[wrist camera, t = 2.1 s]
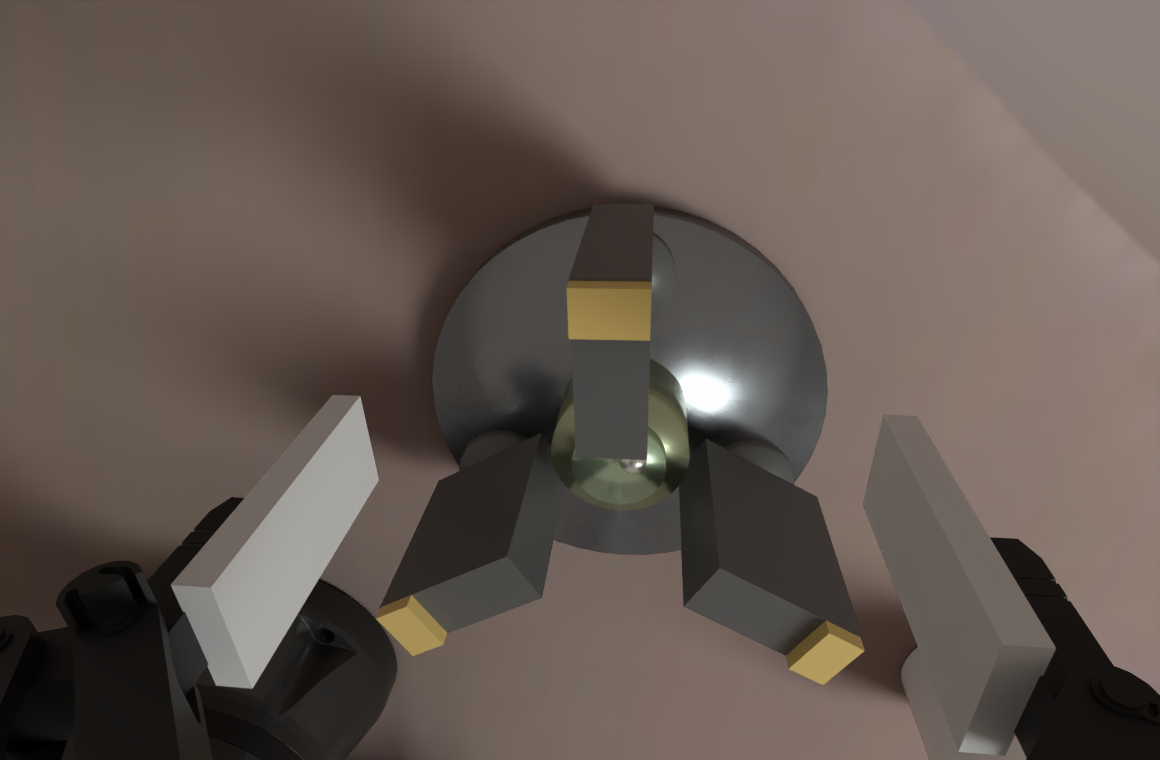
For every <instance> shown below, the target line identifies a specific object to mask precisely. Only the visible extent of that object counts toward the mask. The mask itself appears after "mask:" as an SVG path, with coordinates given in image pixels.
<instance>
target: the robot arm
mask: <svg viewBox="0 0 1160 760" xmlns="http://www.w3.org/2000/svg"><path fill="white" fill-rule="evenodd" d="M378 480H379V479H378V474H377V470H376V465H375V461H374V456H373V451H372V447H371V442H370V438H369V433H368V429H367V424H366V419H365V415H364V410H363V406H362V401H361V397H360V396H347V395H332V396H331V397H330V399H329V400H328V401H327V402H326V403H325V404H324V406H323V407H322V408H321V409H320V410H319V411H318V413H317V414H316V415H315V416H314V417H313V418H312V420H311V421H310V422H309V423H308V424H307V426H306V427H305V428H304V429H303V430H302V431H301V433H300V434H299V435H298V436H297V437H296V438H295V440H294V441H293V442H292V443H291V444H290V445H289V447H288V448H287V449H286V450H285V451H284V453H283V454H282V455H281V456H280V457H279V458H278V460H277V461H276V462H275V463H274V464H273V465H272V467H271V468H270V469H269V470H268V471H267V472H266V474H265V475H264V476H263V477H262V478H261V479H260V481H259V482H258V483H257V484H256V485H255V487H254V488H253V489H252V490H251V491H250V492H249V494H248V495H247V496H246V497H245V498H236V497H231V498H230V499H228V500H227V501H225V502H224V503H222V504H220V505H219V506H217V507H216V508H214V509H213V510H211V511H210V512H209V513H208V514H207V515H206V516H205V517H204V518H203V520H202V521H201V522H200V523H199V524H198V525H197V526H196V527H195V530H194V532H191V533H190V534H189V535H188V536H187V537H186V539H185V540H184V541H183V542H182V546H178V547H177V549H176V550H175V551H174V552H173V553H172V554H171V555H170V556H169V557H168V559H167V560H166V561H165V562H164V563H163V564H162V565H161V566H160V567H159V569H158V570H157V571H156V572H155V573H154V574H153V575H152V576H151V577H150V579H149V580H148V581H147V580H146V578H145V576H144V574H143V572H142V570H141V568H140V567H139V565H138V564H136V563H133V562H130V561H114V562H110V563H106V564H102V565H99V566H96V567H94V568H92V569H90V570H88V571H86V572H84V573H82V574H80V575H79V576H78V577H76V578H75V579H73V580H72V581H71V582H69V583H68V584H67V585H66V587H65V588H64V589H63V590H62V591H61V592H60V593H59V596H58V599H57V601H56V606H57V607H58V609H59V611H60V613H61V614H62V616H63V618H64V619H65V621H66V623H67V625H68V626H69V627H65V628H60V629H55V630H49V631H44V632H39V633H38V632H37V630H36V629H35V627H34V625H33V624H32V623H31V621H30V620H29V619H28V618H27V617H23V616H19V615H13V616H5V617H0V760H345V759H346V758H347V757H348V755H349V754H350V753H351V752H352V751H353V749H354V748H355V747H356V746H357V744H358V743H359V742H360V741H361V739H362V738H363V737H364V736H365V734H366V733H367V732H368V730H369V729H370V728H371V727H372V726H373V725H374V723H375V722H376V721H377V720H378V718H379V716H380V715H381V713H382V711H383V709H384V707H385V705H386V702H387V700H388V697H389V695H390V692H391V690H392V687H393V684H394V682H395V678H396V673H397V661H396V656H395V652H394V649H393V647H392V644H391V642H390V640H389V638H388V636H387V635H386V633H385V632H384V630H383V629H382V627H381V626H380V625H379V624H378V622H377V621H376V620H375V619H374V618H373V617H372V616H371V615H370V614H369V613H368V612H367V611H366V610H365V609H364V608H362V607H361V606H360V605H359V604H358V603H356V602H355V601H354V600H352V599H351V598H349V597H348V596H346V595H345V594H343V593H341V592H340V591H338V590H336V589H334V588H333V587H331V586H329V585H327V584H324V583H322V582H320V581H318V580H319V578H320V576H321V575H322V573H323V571H324V570H325V568H326V566H327V565H328V563H329V561H330V560H331V558H332V556H333V555H334V553H335V552H336V550H337V548H338V547H339V545H340V543H341V542H342V540H343V538H344V537H345V535H346V533H347V532H348V530H349V528H350V527H351V525H352V523H353V522H354V520H355V518H356V517H357V515H358V513H359V512H360V510H361V509H362V507H363V505H364V504H365V502H366V500H367V499H368V497H369V495H370V494H371V492H372V490H373V489H374V487H375V485H376V484H377V482H378ZM863 506H864V509H865V511H866V514H867V517H868V519H869V522H870V524H871V527H872V529H873V532H874V535H875V537H876V540H877V542H878V545H879V548H880V550H881V553H882V555H883V558H884V560H885V563H886V566H887V568H888V571H889V573H890V576H891V579H892V581H893V584H894V586H895V589H896V592H897V594H898V597H899V599H900V602H901V604H902V607H903V610H904V612H905V615H906V617H907V620H908V623H909V625H910V628H911V630H912V633H913V635H914V638H915V641H916V643H917V646H918V648H919V651H920V654H921V656H922V659H923V661H924V664H925V667H926V669H927V672H928V674H929V677H930V679H931V682H932V685H933V687H934V690H935V692H936V695H937V698H938V700H939V703H940V705H941V708H942V710H943V713H944V716H945V718H946V721H947V723H948V726H949V729H950V731H951V734H952V736H953V739H954V742H955V744H956V747H957V749H958V752H967V753H978V754H989V755H1000V756H1005V755H1006V753H1007V751H1008V749H1009V747H1010V745H1011V743H1012V741H1013V738H1014V736H1015V735H1016V737H1017V739H1018V741H1019V743H1020V745H1021V747H1022V749H1023V752H1024V754H1025V756H1026V758H1027V759H1026V760H1160V695H1159V694H1158V693H1157V692H1156V691H1155V690H1154V689H1153V688H1152V687H1151V686H1150V685H1149V684H1147V683H1146V682H1144V681H1143V680H1141V679H1139V678H1138V677H1136V676H1135V675H1133V674H1132V673H1130V672H1128V671H1125V670H1123V669H1120V668H1118V667H1115V666H1113V664H1112V663H1111V661H1110V660H1109V658H1108V657H1107V655H1106V654H1105V652H1104V651H1103V649H1102V648H1101V646H1100V645H1099V643H1098V642H1097V640H1096V639H1095V637H1094V636H1093V634H1092V633H1091V631H1090V630H1089V628H1088V627H1087V625H1086V624H1085V622H1084V621H1083V619H1082V618H1081V617H1080V615H1079V614H1078V612H1077V611H1076V609H1075V608H1074V606H1073V605H1072V603H1071V602H1070V601H1068V600H1067V596H1066V594H1065V593H1064V591H1063V590H1062V588H1061V587H1060V585H1059V584H1056V579H1055V578H1054V576H1053V575H1052V573H1051V572H1050V570H1049V569H1048V567H1047V566H1046V564H1045V563H1044V561H1043V560H1042V558H1041V557H1039V556H1038V555H1037V554H1036V553H1034V552H1033V551H1032V550H1031V549H1030V548H1028V547H1027V546H1026V545H1025V544H1023V543H1022V542H1021V541H1020V540H1019V539H1010V538H992V537H989V535H988V534H987V532H986V530H985V529H984V527H983V525H982V524H981V522H980V520H979V519H978V517H977V515H976V514H975V512H974V510H973V509H972V507H971V505H970V504H969V502H968V500H967V499H966V497H965V495H964V494H963V492H962V490H961V489H960V487H959V485H958V484H957V482H956V480H955V479H954V477H953V475H952V474H951V472H950V470H949V469H948V467H947V465H946V464H945V462H944V460H943V459H942V457H941V455H940V454H939V452H938V450H937V449H936V447H935V445H934V444H933V442H932V440H931V439H930V437H929V435H928V434H927V432H926V430H925V429H924V427H923V425H922V424H921V422H920V420H919V419H918V417H917V416H904V415H883V419H882V423H881V427H880V432H879V436H878V440H877V445H876V449H875V454H874V458H873V462H872V467H871V471H870V475H869V480H868V484H867V489H866V493H865V497H864V502H863Z"/></svg>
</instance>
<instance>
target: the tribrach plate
mask: <svg viewBox="0 0 1160 760" xmlns="http://www.w3.org/2000/svg"><path fill="white" fill-rule="evenodd" d="M591 210H592V208H588V209H583V210H578V211H573V212H569V213H566V214H564V215H561V216H558V217H555V218H552V219H549V220H546V221H544V222H542V223H540V224H538V225H536V226H534V227H532V228H530V229H528V230H526V231H524V232H522V233H520V234H519V235H517V236H516V237H515V238H513V239H512V240H510V241H509V242H507V243H506V244H505V245H503V246H502V247H500V248H499V249H498V250H497V251H496V252H495V253H494V254H493V255H492V256H491V257H489V258H488V259H487V260H486V261H485V262H484V263H483V264H482V265H481V266H480V268H479V269H478V270H477V271H476V273H475V274H474V275H473V276H472V278H471V279H470V280H469V281H468V283H467V284H466V285H465V287H464V288H463V290H462V291H461V293H460V294H459V296H458V297H457V299H456V301H455V303H454V304H453V306H452V308H451V309H450V311H449V313H448V315H447V317H446V319H445V322H444V324H443V327H442V330H441V332H440V335H439V337H438V342H437V346H436V351H435V355H434V362H433V377H432V384H433V397H434V405H435V409H436V413H437V418H438V422H439V425H440V428H441V431H442V433H443V436H444V438H445V441H446V444H447V445H448V447H449V449H450V451H451V453H452V455H453V457H454V458H455V460H456V462H457V464H458V465H459V466H460V461H461V458H462V456H463V454H464V452H465V449H466V447H467V446H468V444H469V443H470V442H471V440H472V439H474V438H475V437H476V436H478V435H480V434H482V433H484V432H487V431H491V430H508V431H513V432H516V433H519V434H522V435H524V436H525V437H527V438H531V437H533V436H536V435H538V434H540V433H542V434H543V435H544V437H545V438H546V440H547V441H548V442H549V444H550V445H551V456H552V462H553V465H554V468H555V471H556V473H557V475H558V476H559V478H560V480H561V481H562V482H563V483H564V489H563V494H562V499H561V504H560V509H559V514H558V519H557V524H556V529H555V534H554V539H553V540H556V541H558V542H562V543H565V544H568V545H572V546H575V547H578V548H583V549H588V550H592V551H597V552H604V553H614V554H634V555H646V554H657V553H667V552H673V551H678V550H681V526H680V501H679V485H680V483H681V482H682V480H683V478H684V476H685V474H686V472H687V469H688V465H689V459H690V458H691V456H692V455H693V454H694V453H695V451H696V450H697V449H698V448H699V446H700V445H701V444H702V443H703V441H704V440H705V439H708V440H710V441H712V442H714V443H716V444H717V445H719V446H720V445H722V444H724V443H727V442H729V441H732V440H737V439H743V438H752V439H759V440H763V441H766V442H769V443H771V444H773V445H775V446H776V447H778V448H779V449H780V450H781V451H782V452H783V453H784V454H785V455H786V457H787V458H788V460H789V462H790V466H791V469H792V473H793V476H794V482H795V481H796V480H797V478H798V477H799V476H800V474H801V473H802V471H803V469H804V468H805V466H806V464H807V463H808V461H809V459H810V458H811V456H812V453H813V451H814V449H815V446H816V444H817V442H818V439H819V437H820V434H821V430H822V426H823V422H824V418H825V414H826V403H827V393H828V389H827V373H826V365H825V361H824V356H823V352H822V347H821V344H820V341H819V339H818V336H817V333H816V331H815V328H814V326H813V323H812V321H811V319H810V317H809V315H808V313H807V311H806V309H805V307H804V305H803V303H802V302H801V300H800V298H799V297H798V295H797V293H796V292H795V290H794V288H793V287H792V285H791V284H790V283H789V282H788V280H787V279H786V278H785V277H784V276H783V274H782V273H781V272H780V271H779V269H778V268H777V267H776V266H775V265H774V264H773V263H772V262H771V261H770V260H768V259H767V258H766V257H765V256H764V255H763V254H762V253H761V252H760V251H759V250H758V249H756V248H755V247H753V246H752V245H750V244H749V243H748V242H746V241H745V240H743V239H742V238H740V237H739V236H737V235H736V234H734V233H732V232H730V231H728V230H726V229H724V228H722V227H720V226H718V225H716V224H714V223H712V222H710V221H708V220H705V219H702V218H699V217H696V216H693V215H690V214H687V213H684V212H680V211H675V210H670V209H665V208H660V207H655V206H654V220H653V232H655V233H656V234H657V235H658V236H660V237H661V238H662V239H663V240H664V242H665V243H666V244H667V246H668V247H669V249H670V251H671V253H672V255H673V258H674V262H675V269H676V285H675V290H674V293H673V296H672V298H671V300H670V302H669V304H668V305H667V307H666V308H665V309H664V310H663V311H662V312H661V313H660V314H659V315H658V316H657V317H655V318H654V319H652V320H651V335H650V372H649V409H648V445H647V460H630V459H604V458H578V457H576V454H575V427H574V400H573V373H572V346H571V339H569V337H568V311H567V285H568V282H569V276H570V273H571V270H572V267H573V264H574V261H575V258H576V255H577V252H578V249H579V246H580V243H581V240H582V237H583V234H584V231H585V228H586V225H587V222H588V219H589V216H590V213H591Z"/></svg>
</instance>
